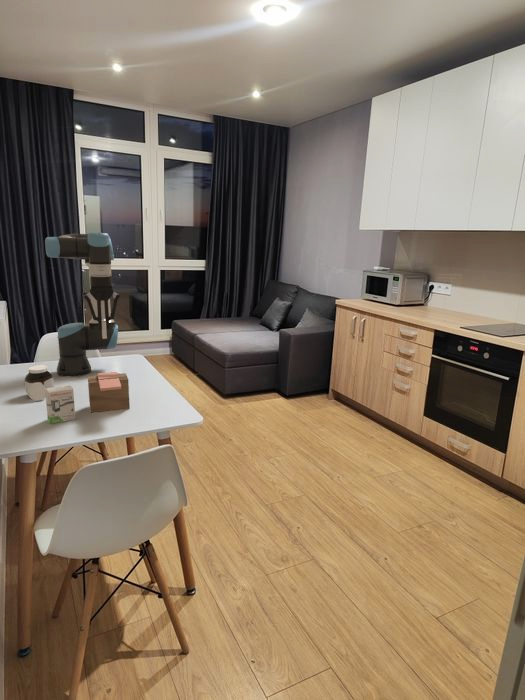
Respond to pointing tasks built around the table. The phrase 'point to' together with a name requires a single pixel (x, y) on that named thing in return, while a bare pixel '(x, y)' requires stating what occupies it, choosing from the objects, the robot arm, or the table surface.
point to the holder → (108, 393)
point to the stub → (109, 384)
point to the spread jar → (38, 382)
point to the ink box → (60, 404)
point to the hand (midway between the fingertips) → (104, 337)
